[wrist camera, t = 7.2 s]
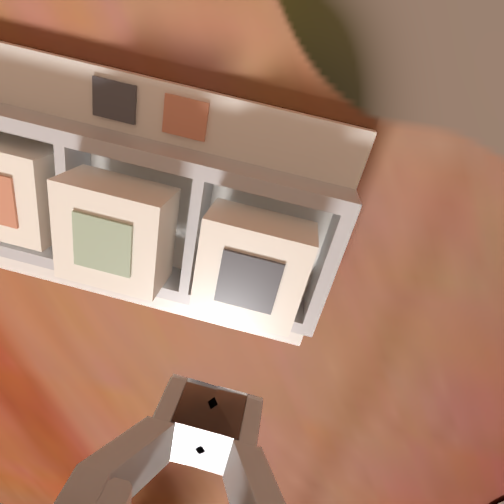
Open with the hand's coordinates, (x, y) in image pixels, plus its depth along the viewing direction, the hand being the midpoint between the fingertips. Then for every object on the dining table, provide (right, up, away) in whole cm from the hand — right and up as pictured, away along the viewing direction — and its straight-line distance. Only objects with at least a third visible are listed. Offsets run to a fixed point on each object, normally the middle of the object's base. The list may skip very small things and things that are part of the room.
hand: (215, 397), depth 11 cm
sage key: (-6, +6, +9) cm, 12 cm away
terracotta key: (-13, +9, +11) cm, 19 cm away
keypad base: (-5, +8, +12) cm, 15 cm away
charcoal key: (+1, +5, +9) cm, 10 cm away
